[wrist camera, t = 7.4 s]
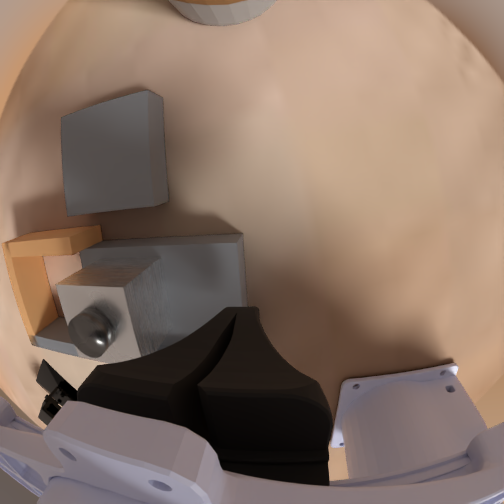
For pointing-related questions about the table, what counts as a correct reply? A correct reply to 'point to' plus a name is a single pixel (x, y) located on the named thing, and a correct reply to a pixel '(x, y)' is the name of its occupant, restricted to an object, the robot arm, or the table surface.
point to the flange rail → (94, 248)
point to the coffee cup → (221, 10)
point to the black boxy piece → (53, 392)
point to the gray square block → (115, 155)
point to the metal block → (116, 308)
